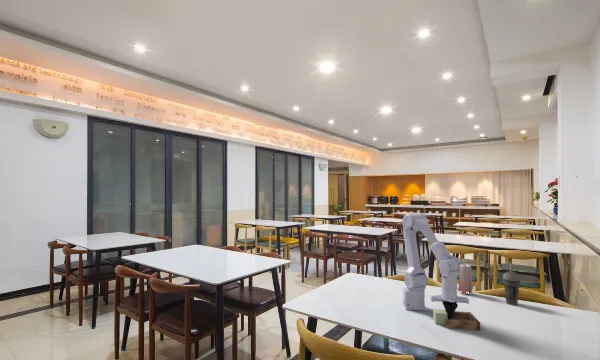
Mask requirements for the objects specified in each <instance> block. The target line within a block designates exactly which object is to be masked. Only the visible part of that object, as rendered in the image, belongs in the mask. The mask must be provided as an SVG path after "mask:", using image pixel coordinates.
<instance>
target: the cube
mask: <svg viewBox="0 0 600 360" xmlns="http://www.w3.org/2000/svg"><path fill="white" fill-rule="evenodd" d="M432 312H433V313H432V318H433V322H434V323H435V324H436V325H442V326H444V325H445V319H447V313H446V310H445V309H440V308H438V309H437V308H433V309H432Z"/></svg>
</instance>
